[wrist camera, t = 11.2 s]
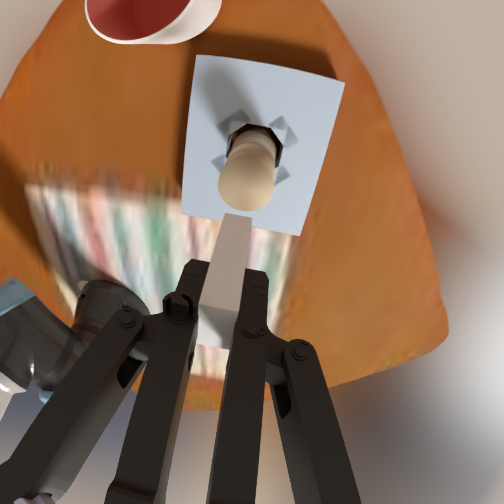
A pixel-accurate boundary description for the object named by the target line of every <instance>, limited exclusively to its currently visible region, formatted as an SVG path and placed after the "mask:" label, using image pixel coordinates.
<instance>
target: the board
mask: <svg viewBox="0 0 504 504" xmlns="http://www.w3.org/2000/svg"><path fill="white" fill-rule="evenodd" d="M344 86H345V83H344V82H342V81H339V80H336V79H333V78H329V77H326V76H322V75H318V74H315V73H311V72H307V71H302V70H298V69H294V68H289V67H285V66H280V65H275V64H269V63H264V62H258V61H252V60H245V59H238V58H231V57H222V56H213V55H196V62H195V69H194V76H193V83H192V91H191V99H190V107H189V116H188V125H187V135H186V146H185V158H184V170H183V185H182V202H181V214H184V215H190V216H196V217H201V218H207V219H212V220H218V221H223V218H224V214H225V213H230V214H235V215H241V216H246V217H251V218H253V219H252V225H251V227H255V228H260V229H266V230H271V231H276V232H281V233H286V234H291V235H296V236H300V234H301V231H302V227H303V224H304V221H305V218H306V215H307V212H308V209H309V206H310V203H311V199H312V196H313V193H314V190H315V187H316V183H317V180H318V177H319V173H320V170H321V167H322V164H323V160H324V157H325V153H326V150H327V147H328V143H329V140H330V136H331V133H332V129H333V126H334V122H335V119H336V115H337V112H338V108H339V104H340V101H341V97H342V93H343V89H344ZM247 123H249V124H254V125H260V126H265V127H270V128H271V129H272V130H273V132H274V133H275V134H276V136H277V137H278V139H279V140H280V142H281V147H280V152H279V155H278V156H277V157H275V176H274V193H273V196H272V198H271V200H270V201H269V202H268V203H267V204H266V205H265V206H264V207H262V208H260V209H258V210H255V211H240V210H236V209H234V208H232V207H230V206H229V205H227V204H226V203H225V202H224V201H223V199H222V198H221V196H220V194H219V191H218V179H219V176H220V174H221V172H222V170H223V167H224V165H225V163H226V161H227V158H228V156H229V154H230V152H231V150H232V148H231V147H230V145H231V139H232V133H233V132H235V131H236V130H238V129H239V128H241V127H242V126H244V125H245V124H247Z"/></svg>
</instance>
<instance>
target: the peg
mask: <svg viewBox="0 0 504 504" xmlns="http://www.w3.org/2000/svg"><path fill="white" fill-rule="evenodd" d="M275 157H276V146H275V143H274V141H273V140H272V139H271V136H270V134H269V133H268V132H267V131H266V130H265V129H263V128H260V127H252V128H249V129H247V130H246V131H245V132H244V133H242V134H240V135H239V136H238V137H237V138H236V139H235V141H234V143H233V146H232V150H231V152H230V154H229V156H228V158H227V161H226V163H225V165H224V167H223V170H222V172H221V174H220V176H219V179H218V191H219V194H220V196H221V198H222V199H223V201H224V202H225V203H226V204H227V205H229V206H230V207H232V208H234V209H236V210H240V211H255V210H258V209H260V208H262V207H264V206H265V205H266V204H267V203H268V202H269V201H270V200H271V198H272V196H273V193H274V176H275Z"/></svg>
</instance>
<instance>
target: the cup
mask: <svg viewBox="0 0 504 504" xmlns="http://www.w3.org/2000/svg"><path fill="white" fill-rule="evenodd" d="M221 3H222V0H85V13H86V17H87V20H88V22H89V24H90V26H91V27H92V29H93V30H94V31H95V32H96V33H97V34H98V35H99V36H100V37H102V38H104V39H106V40H108V41H111V42H114V43H120V44H175V43H180V42H184V41H186V40H189V39H191V38H193V37H195V36H197V35H199V34H200V33H202V32H203V31H204V30H205V29H206V28H207V27H209V25H210V24H211V23H212V22H213V21H214V19H215V18H216V16H217V14H218V12H219V10H220V7H221Z"/></svg>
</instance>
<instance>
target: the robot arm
mask: <svg viewBox="0 0 504 504" xmlns="http://www.w3.org/2000/svg"><path fill="white" fill-rule="evenodd" d="M252 219H253V218H251V217H246V216H241V215H235V214H230V213H225V214H224V218H223V221H222V224H221V227H220V231H219V234H218V237H217V241H216V244H215V248H214V251H213V254H212V258H211V261H210V262H206V261H201V260H196V259H191V260H190V261H189V262H188V263H187V264H186V265H185V266H184V269H183V272H182V274H181V277H180V280H179V282H178V285H177V288H176V291H175V292H171V293H169V294H168V295H166V296H165V297H164V299H163V312H162V313H159V314H154V315H150V313H149V311H148V309H147V307H146V306H145V305H144V303H143V302H142V301H141V300H140V299H139V298H138V297H137V296H135V295H134V294H133V293H131V292H130V291H129V290H127V289H125V288H123V287H121V286H119V285H117V284H115V283H112V282H108V281H102V280H95V281H91V282H88V283H87V284H86V285H85V286H84V287H83V289H82V290H81V292H80V294H79V296H78V300H77V305H76V311H75V317H74V323H73V325H72V327H71V328H70V327H69V326H68V325H66V324H65V323H64V322H63V321H62V320H61V319H60V318H58V317H57V316H56V315H55V314H54V313H53V312H52V311H51V310H50V309H49V308H48V307H47V306H46V305H45V304H44V303H43V302H42V301H41V300H40V299H39V298H38V297H37V296H36V293H35V292H32V291H31V290H30V289H29V288H28V287H27V286H26V285H25V284H24V283H23V282H22V281H21V280H19V279H17V278H9V279H8V280H6V281H5V282H4V283H3V284H2V285H1V286H0V421H1V418H2V416H3V414H4V412H5V410H6V408H7V406H8V404H9V402H10V399H11V397H12V395H13V394H14V393H20V392H25V391H26V390H27V388H28V386H29V384H30V383H31V382H32V383H33V384H35V385H36V386H38V387H39V388H40V389H41V390H40V392H39V398H40V399H41V401H43V402H44V403H45V405H44V407H43V408H42V410H41V411H40V413H39V414H38V415H37V417H36V419H35V420H34V421H33V423H32V424H31V426H30V427H29V429H28V431H27V432H26V434H25V435H24V437H23V438H22V440H21V441H20V443H19V444H18V446H17V448H16V449H15V451H14V452H13V454H12V456H11V457H10V459H8V460H7V461H6V462H4V463H3V464H1V465H0V504H55V502H56V501H57V500H59V499H60V498H61V497H62V496H63V495H64V494H65V493H66V492H67V490H68V489H69V487H70V486H71V484H72V483H73V481H74V479H75V478H76V476H77V474H78V473H79V471H80V469H81V468H82V465H83V464H84V463H85V461H86V459H87V458H88V456H89V454H90V452H91V451H92V449H93V447H94V446H95V444H96V443H97V441H98V439H99V438H100V436H101V435H102V433H103V431H104V430H105V428H106V426H107V425H108V423H109V422H110V420H111V418H112V417H113V415H114V413H115V412H116V410H117V409H118V407H119V406H120V404H121V402H122V401H123V399H124V398H125V396H126V394H127V393H128V391H129V390H130V388H131V387H132V385H133V383H134V382H135V380H136V379H137V377H138V376H139V374H140V373H141V371H142V369H143V368H144V366H145V365H146V368H145V371H144V374H143V377H142V380H141V384H140V387H139V390H138V393H137V397H136V401H135V404H134V407H133V411H132V414H131V418H130V421H129V425H128V429H127V432H126V436H125V439H124V444H123V447H122V451H121V455H120V459H119V463H118V467H117V471H116V475H115V478H114V480H113V481H112V483H111V484H110V485H109V488H108V490H107V493H106V497H105V502H104V504H165V499H166V489H167V484H168V478H169V473H170V468H171V463H172V457H173V452H174V447H175V442H176V437H177V432H178V427H179V422H180V418H181V413H182V408H183V403H184V399H185V394H186V389H187V385H188V380H189V376H190V371H191V367H192V363H193V358H194V350H195V345H196V343H197V344H202V345H207V346H213V347H218V348H223V349H229V350H230V351H229V357H228V361H227V366H226V374H225V380H224V387H223V393H222V400H221V406H220V413H219V419H218V426H217V432H216V439H215V446H214V452H213V459H212V465H211V472H210V479H209V486H208V493H207V499H206V504H255V496H256V486H257V475H258V464H259V452H260V440H261V428H262V415H263V402H264V388H265V381H266V382H268V383H269V385H270V390H271V394H272V399H273V404H274V409H275V413H276V418H277V422H278V427H279V432H280V436H281V441H282V446H283V450H284V455H285V459H286V464H287V468H288V473H289V477H290V482H291V486H292V491H293V495H294V500H295V504H361V500H360V496H359V493H358V489H357V486H356V482H355V478H354V475H353V471H352V468H351V464H350V461H349V458H348V454H347V450H346V447H345V443H344V440H343V437H342V433H341V430H340V427H339V423H338V420H337V417H336V414H335V410H334V407H333V404H332V400H331V398H330V394H329V391H328V388H327V384H326V381H325V378H324V375H323V372H322V369H321V366H320V362H319V359H318V356H317V353H316V351H315V349H314V347H313V346H312V345H311V344H310V343H309V342H307V341H305V340H302V339H294V340H291V341H289V342H287V341H285V340H282V339H280V338H278V337H276V336H275V335H274V334H273V333H271V331H270V330H269V329H268V326H267V305H268V288H269V279H268V277H267V275H266V273H265V272H263V271H258V270H252V269H247V268H245V266H246V259H247V252H248V245H249V239H250V232H251V225H252ZM146 363H147V364H146Z"/></svg>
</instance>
